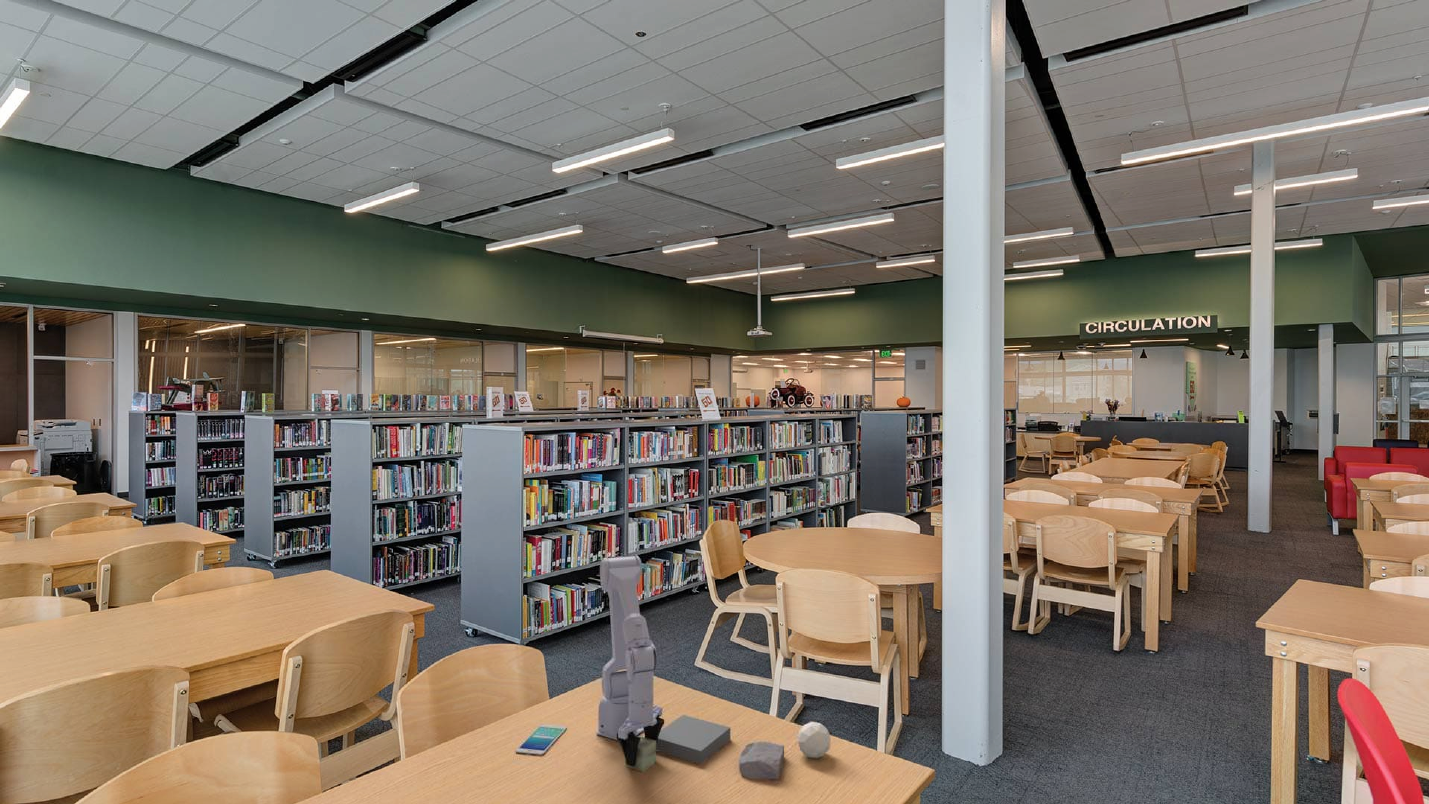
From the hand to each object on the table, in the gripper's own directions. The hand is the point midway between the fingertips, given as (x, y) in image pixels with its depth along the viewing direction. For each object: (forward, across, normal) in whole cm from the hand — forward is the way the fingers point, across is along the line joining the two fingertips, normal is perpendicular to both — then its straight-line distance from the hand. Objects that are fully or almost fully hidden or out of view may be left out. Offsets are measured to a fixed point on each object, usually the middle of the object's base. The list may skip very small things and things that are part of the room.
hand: (640, 757), depth 163 cm
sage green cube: (+2, 0, 0) cm, 2 cm away
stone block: (+2, +13, -24) cm, 28 cm away
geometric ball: (+2, +24, -33) cm, 41 cm away
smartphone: (+2, -3, +28) cm, 28 cm away
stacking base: (+1, +14, -5) cm, 15 cm away
